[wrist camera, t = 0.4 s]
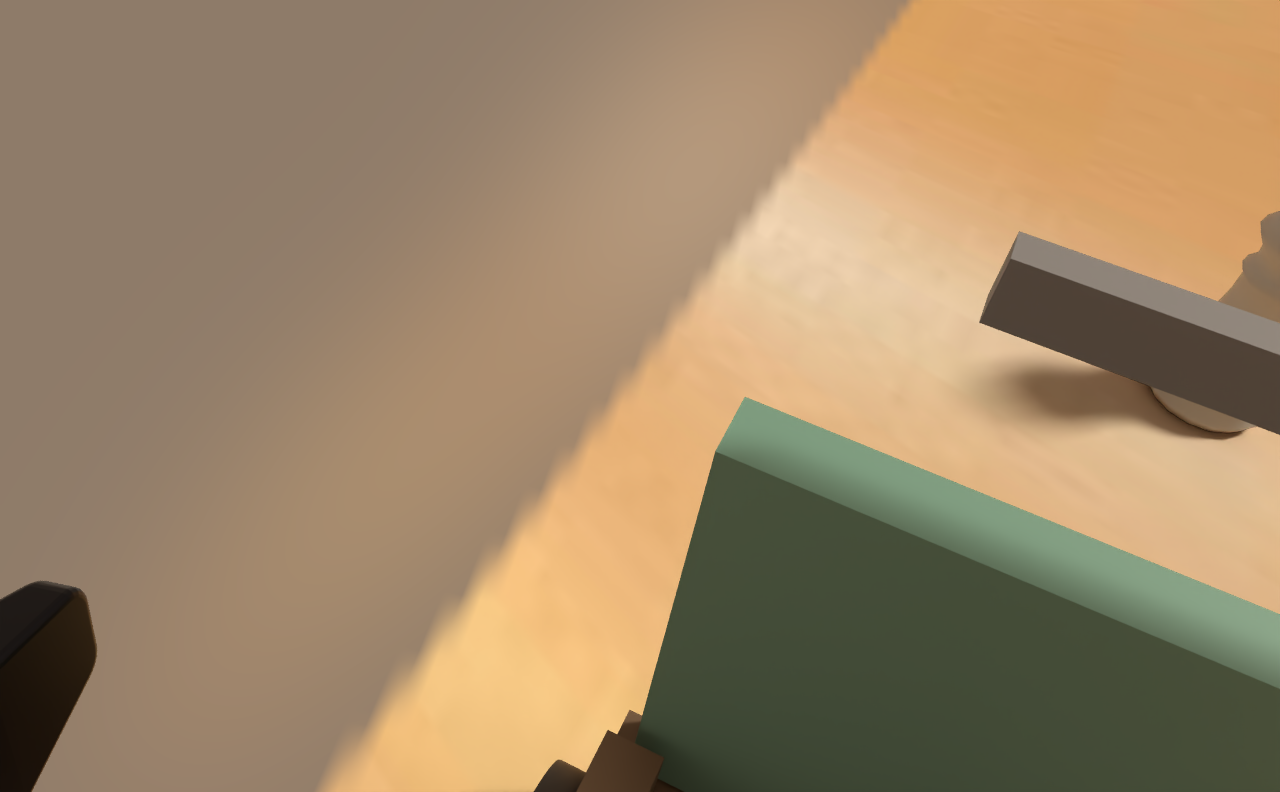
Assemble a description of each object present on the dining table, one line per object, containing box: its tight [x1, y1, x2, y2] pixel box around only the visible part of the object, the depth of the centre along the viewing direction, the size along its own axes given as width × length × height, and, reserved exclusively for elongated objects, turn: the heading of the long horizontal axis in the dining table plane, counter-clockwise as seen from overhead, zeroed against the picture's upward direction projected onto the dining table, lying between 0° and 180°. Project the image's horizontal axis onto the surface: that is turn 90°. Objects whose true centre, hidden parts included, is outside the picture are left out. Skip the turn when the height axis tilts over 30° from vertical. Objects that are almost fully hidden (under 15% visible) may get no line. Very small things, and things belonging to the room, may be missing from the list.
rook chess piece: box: [1150, 211, 1280, 433], centre depth 35 cm, size 4×4×8 cm
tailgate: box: [635, 231, 1280, 792], centre depth 16 cm, size 2×13×14 cm, turn 66°
